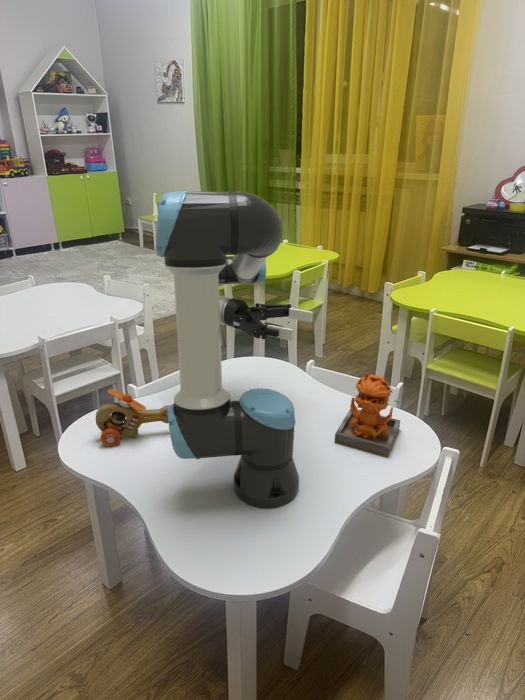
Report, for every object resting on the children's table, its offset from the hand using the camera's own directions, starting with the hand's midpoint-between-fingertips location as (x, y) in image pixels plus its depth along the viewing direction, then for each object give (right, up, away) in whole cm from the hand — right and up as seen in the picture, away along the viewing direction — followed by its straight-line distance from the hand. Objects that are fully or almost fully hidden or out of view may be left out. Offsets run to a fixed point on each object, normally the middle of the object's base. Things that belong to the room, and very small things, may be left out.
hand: (302, 325), depth 120 cm
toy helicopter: (-44, -29, +7) cm, 53 cm away
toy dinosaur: (+18, -29, +8) cm, 35 cm away
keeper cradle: (+18, -29, +9) cm, 36 cm away
